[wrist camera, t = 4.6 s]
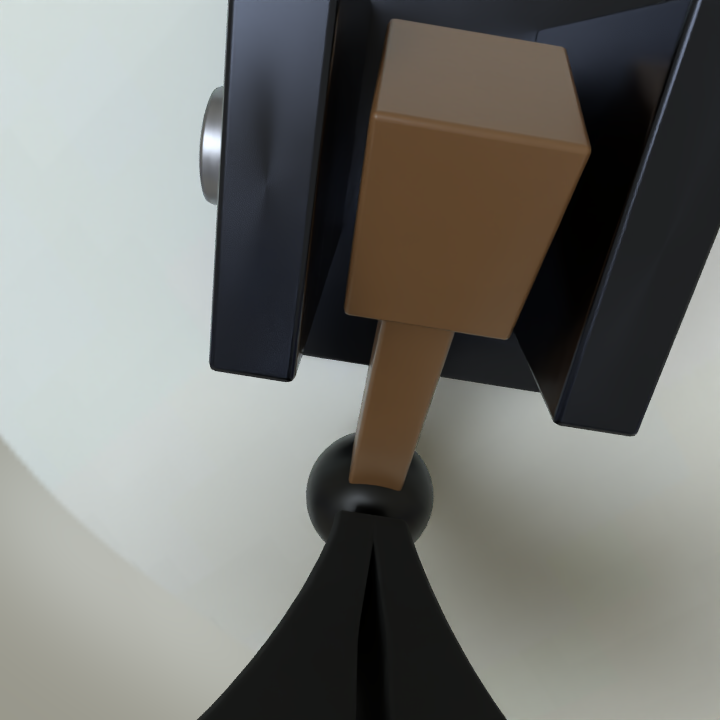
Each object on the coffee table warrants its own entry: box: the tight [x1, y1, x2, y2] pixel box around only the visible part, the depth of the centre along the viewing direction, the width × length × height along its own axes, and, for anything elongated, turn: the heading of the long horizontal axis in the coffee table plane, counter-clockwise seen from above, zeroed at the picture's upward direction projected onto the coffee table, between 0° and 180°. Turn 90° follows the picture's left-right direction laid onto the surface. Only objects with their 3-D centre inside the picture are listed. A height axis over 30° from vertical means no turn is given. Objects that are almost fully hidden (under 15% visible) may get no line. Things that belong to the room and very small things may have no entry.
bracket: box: [199, 0, 720, 436], centre depth 10 cm, size 10×8×8 cm
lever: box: [306, 19, 591, 543], centre depth 11 cm, size 11×3×3 cm, turn 171°
